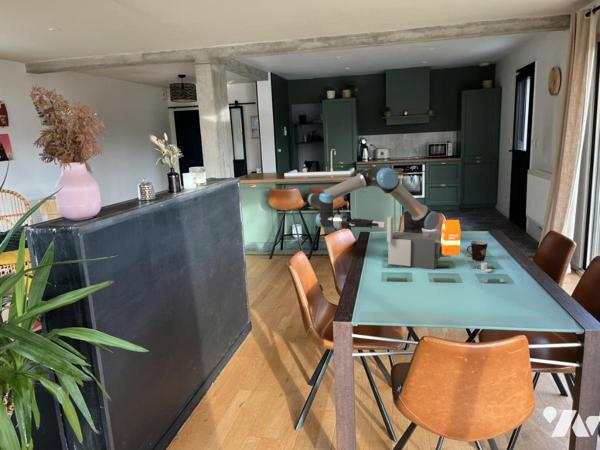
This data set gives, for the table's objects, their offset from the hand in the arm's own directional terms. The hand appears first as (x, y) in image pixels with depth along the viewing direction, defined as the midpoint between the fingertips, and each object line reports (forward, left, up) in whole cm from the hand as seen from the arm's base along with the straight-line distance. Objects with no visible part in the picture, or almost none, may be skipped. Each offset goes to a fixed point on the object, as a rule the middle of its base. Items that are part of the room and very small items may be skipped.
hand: (384, 224), depth 241 cm
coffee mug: (-29, +44, -23) cm, 58 cm away
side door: (-1, +8, -22) cm, 23 cm away
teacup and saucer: (-9, +49, -24) cm, 55 cm away
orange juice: (-38, +29, -23) cm, 53 cm away
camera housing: (-9, +15, -23) cm, 29 cm away
